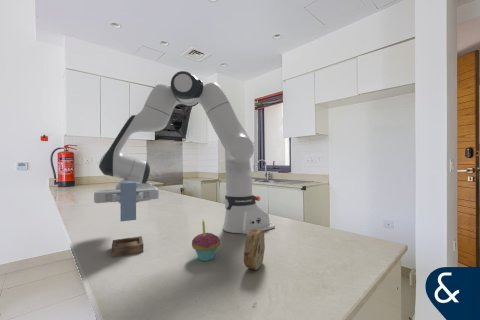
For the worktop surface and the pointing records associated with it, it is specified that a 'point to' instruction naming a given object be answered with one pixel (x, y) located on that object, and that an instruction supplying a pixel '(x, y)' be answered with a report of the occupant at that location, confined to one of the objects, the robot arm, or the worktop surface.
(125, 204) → the slate block
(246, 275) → the worktop surface
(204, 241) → the cupcake
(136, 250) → the walnut base
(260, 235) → the bagel
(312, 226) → the worktop surface
